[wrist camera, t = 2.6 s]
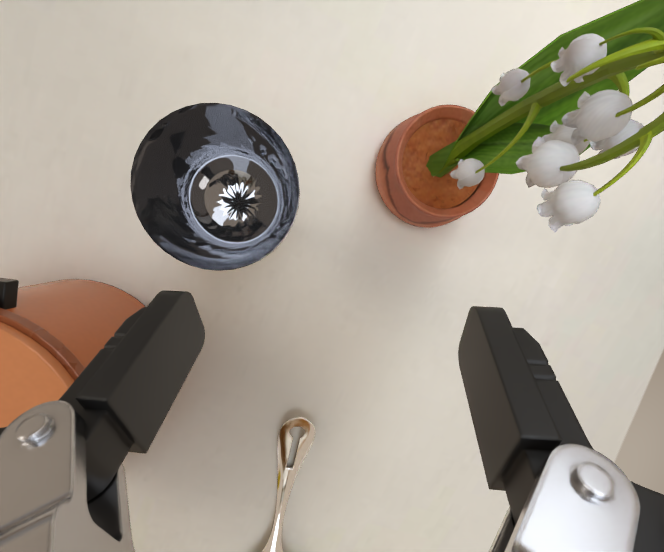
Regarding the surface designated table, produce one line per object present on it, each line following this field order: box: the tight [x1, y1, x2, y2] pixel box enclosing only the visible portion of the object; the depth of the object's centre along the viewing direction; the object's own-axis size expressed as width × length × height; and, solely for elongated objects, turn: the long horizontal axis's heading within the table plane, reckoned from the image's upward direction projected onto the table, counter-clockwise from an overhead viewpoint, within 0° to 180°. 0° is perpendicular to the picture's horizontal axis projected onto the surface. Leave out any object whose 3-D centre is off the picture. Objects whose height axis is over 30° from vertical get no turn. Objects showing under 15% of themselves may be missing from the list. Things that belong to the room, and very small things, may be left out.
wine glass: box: [131, 103, 300, 270], centre depth 24 cm, size 8×8×15 cm
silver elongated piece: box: [262, 417, 315, 552], centre depth 33 cm, size 20×4×5 cm
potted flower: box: [375, 0, 664, 232], centre depth 20 cm, size 12×10×25 cm
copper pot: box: [0, 278, 145, 428], centre depth 24 cm, size 17×19×15 cm
